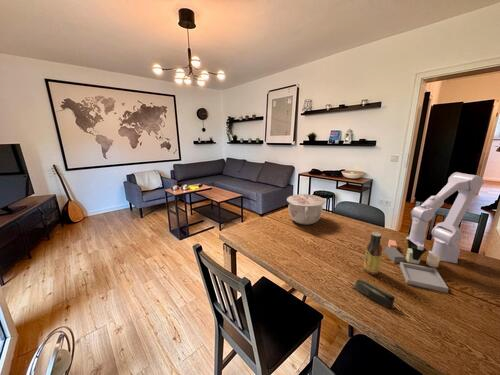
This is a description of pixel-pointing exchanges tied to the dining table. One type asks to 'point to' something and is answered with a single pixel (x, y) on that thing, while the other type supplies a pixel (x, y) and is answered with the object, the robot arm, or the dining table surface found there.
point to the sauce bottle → (373, 254)
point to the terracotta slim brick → (392, 243)
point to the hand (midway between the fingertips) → (413, 255)
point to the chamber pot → (305, 208)
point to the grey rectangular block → (394, 254)
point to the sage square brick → (411, 257)
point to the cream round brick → (433, 260)
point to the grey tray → (423, 277)
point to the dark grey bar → (374, 293)
